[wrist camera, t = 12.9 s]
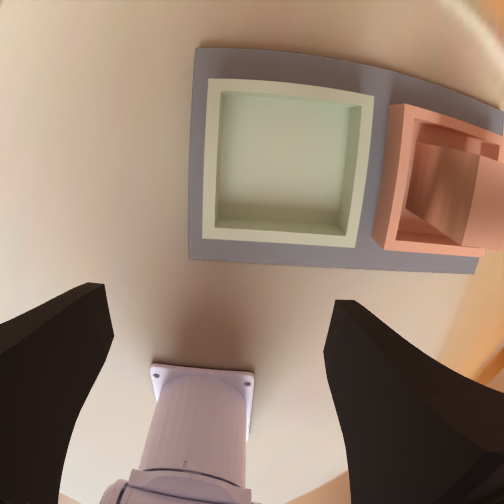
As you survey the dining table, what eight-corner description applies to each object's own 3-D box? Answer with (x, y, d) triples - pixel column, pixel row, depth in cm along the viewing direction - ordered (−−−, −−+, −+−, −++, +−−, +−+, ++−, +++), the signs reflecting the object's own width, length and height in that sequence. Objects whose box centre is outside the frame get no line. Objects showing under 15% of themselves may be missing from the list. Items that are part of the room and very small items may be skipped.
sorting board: (469, 270, 19) (488, 286, 17) (190, 255, 19) (181, 274, 16) (498, 111, 15) (523, 114, 12) (197, 50, 14) (188, 38, 12)
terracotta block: (454, 216, 17) (513, 252, 11) (405, 208, 17) (461, 245, 11) (465, 156, 15) (531, 175, 10) (415, 142, 15) (480, 154, 10)
